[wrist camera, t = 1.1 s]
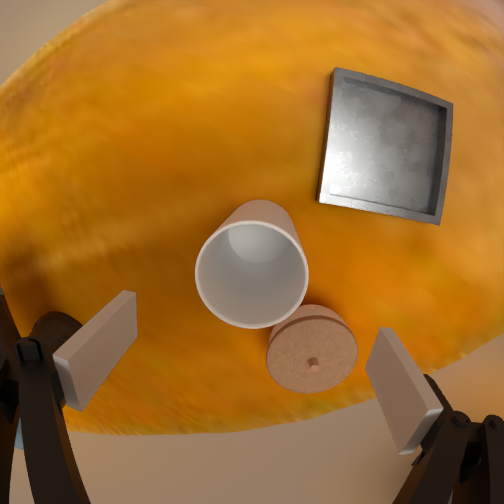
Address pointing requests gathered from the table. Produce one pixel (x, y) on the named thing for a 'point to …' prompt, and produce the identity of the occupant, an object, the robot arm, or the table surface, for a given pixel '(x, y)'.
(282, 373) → the lidded jar
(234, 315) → the cup
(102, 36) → the table surface
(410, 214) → the square metal tray
